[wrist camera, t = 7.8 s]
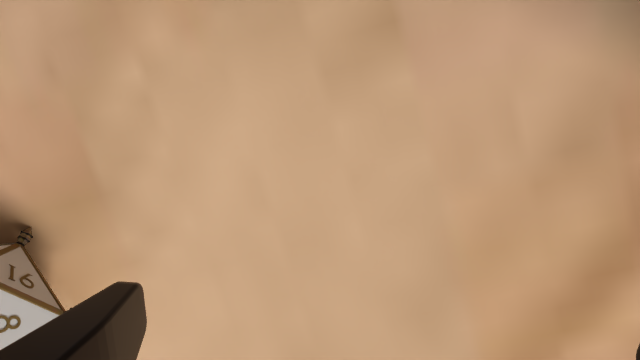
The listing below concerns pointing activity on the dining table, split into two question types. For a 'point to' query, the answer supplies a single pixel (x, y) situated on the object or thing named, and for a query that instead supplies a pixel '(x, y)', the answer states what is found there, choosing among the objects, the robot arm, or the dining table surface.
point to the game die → (23, 293)
